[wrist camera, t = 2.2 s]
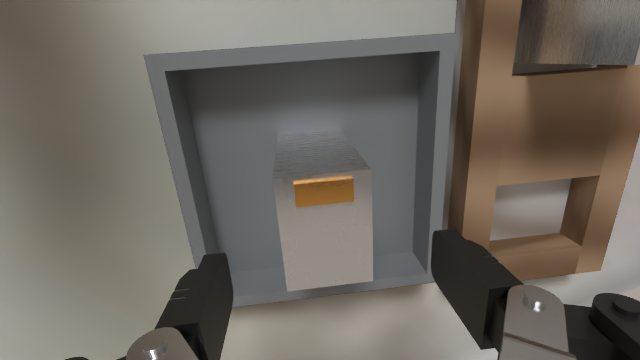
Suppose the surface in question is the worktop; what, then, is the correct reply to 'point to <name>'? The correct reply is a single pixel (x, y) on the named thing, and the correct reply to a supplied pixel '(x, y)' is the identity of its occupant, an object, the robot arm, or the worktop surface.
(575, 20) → the block
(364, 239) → the block
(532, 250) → the pallet
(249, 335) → the worktop surface
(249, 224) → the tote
